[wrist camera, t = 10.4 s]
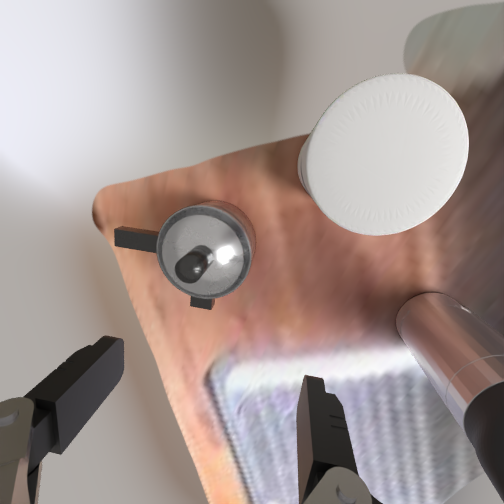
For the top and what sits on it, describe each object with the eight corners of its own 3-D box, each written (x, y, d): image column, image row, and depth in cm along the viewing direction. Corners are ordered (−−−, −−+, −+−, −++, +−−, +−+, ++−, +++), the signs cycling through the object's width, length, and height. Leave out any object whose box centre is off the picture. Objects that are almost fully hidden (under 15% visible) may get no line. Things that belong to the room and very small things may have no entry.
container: (285, 185, 39) (282, 203, 20) (317, 111, 35) (350, 45, 16) (352, 213, 38) (414, 258, 19) (389, 141, 35) (507, 110, 16)
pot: (262, 205, 40) (257, 213, 33) (250, 296, 44) (243, 319, 37) (138, 187, 41) (109, 191, 35) (137, 276, 46) (111, 295, 39)
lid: (249, 221, 33) (241, 232, 28) (238, 298, 37) (229, 321, 31) (166, 207, 34) (143, 215, 29) (162, 284, 37) (141, 304, 32)
